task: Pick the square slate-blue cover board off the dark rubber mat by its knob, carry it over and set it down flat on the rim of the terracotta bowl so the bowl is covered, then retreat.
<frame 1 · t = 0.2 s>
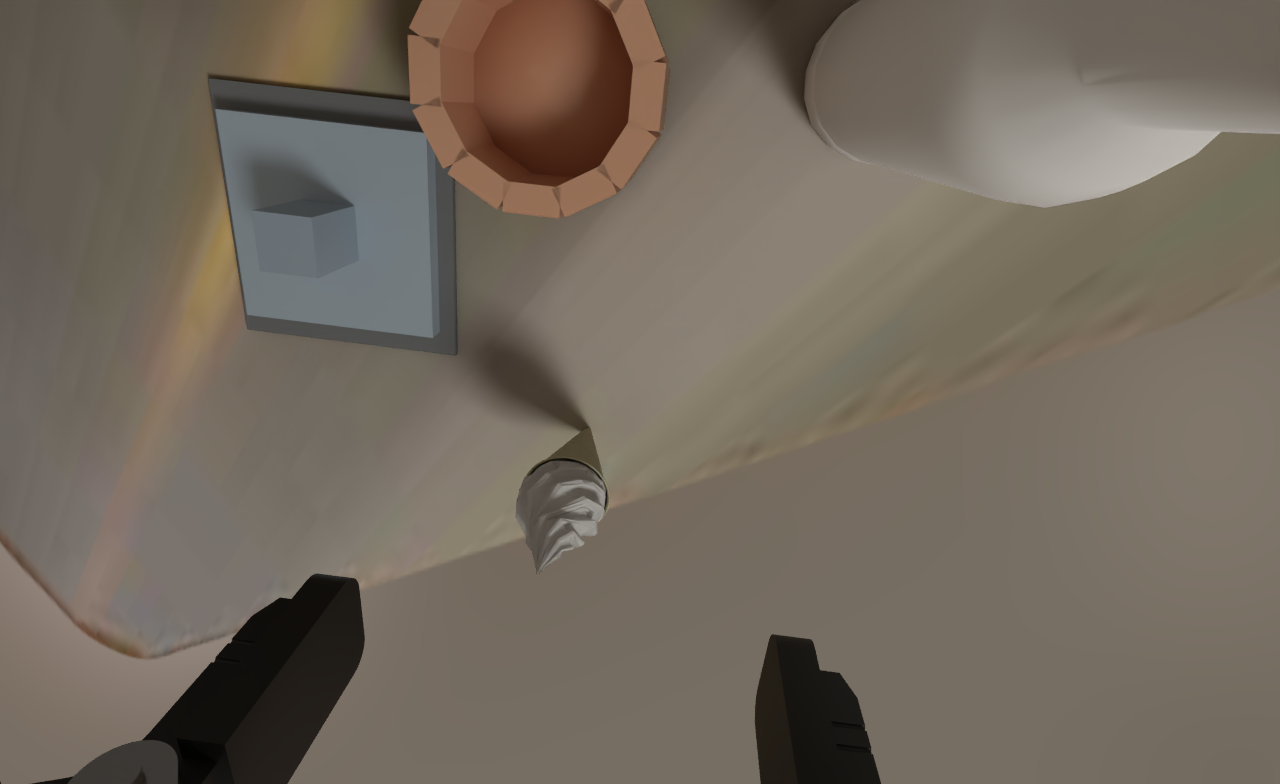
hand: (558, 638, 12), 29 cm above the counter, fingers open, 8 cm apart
bowl: (559, 88, 35), on the counter
bottle: (876, 82, 34), on the counter
ice cream cone: (588, 429, 44), on the counter
mat: (344, 225, 39), on the counter
lid: (340, 227, 39), resting on mat
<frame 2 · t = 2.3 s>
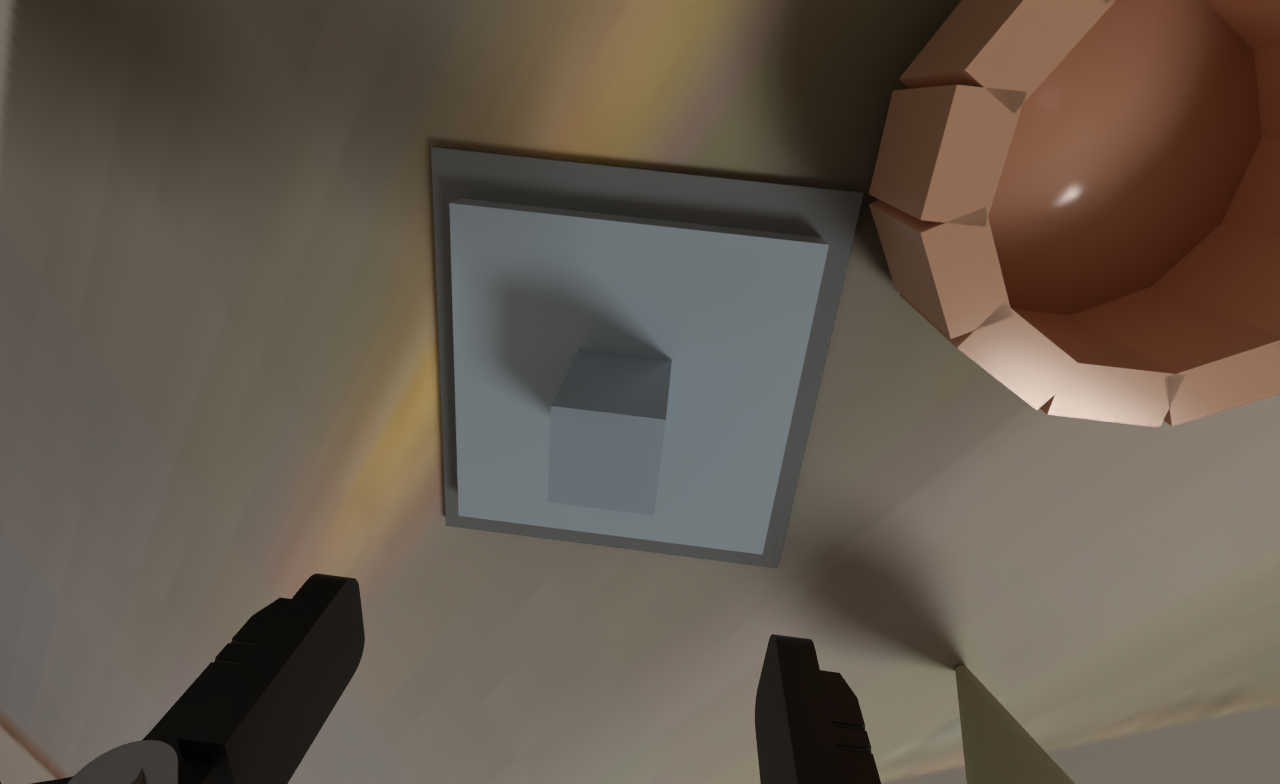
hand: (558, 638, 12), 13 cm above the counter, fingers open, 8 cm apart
bowl: (1067, 162, 20), on the counter
ice cream cone: (959, 665, 28), on the counter
mat: (626, 378, 24), on the counter
lid: (625, 383, 24), resting on mat
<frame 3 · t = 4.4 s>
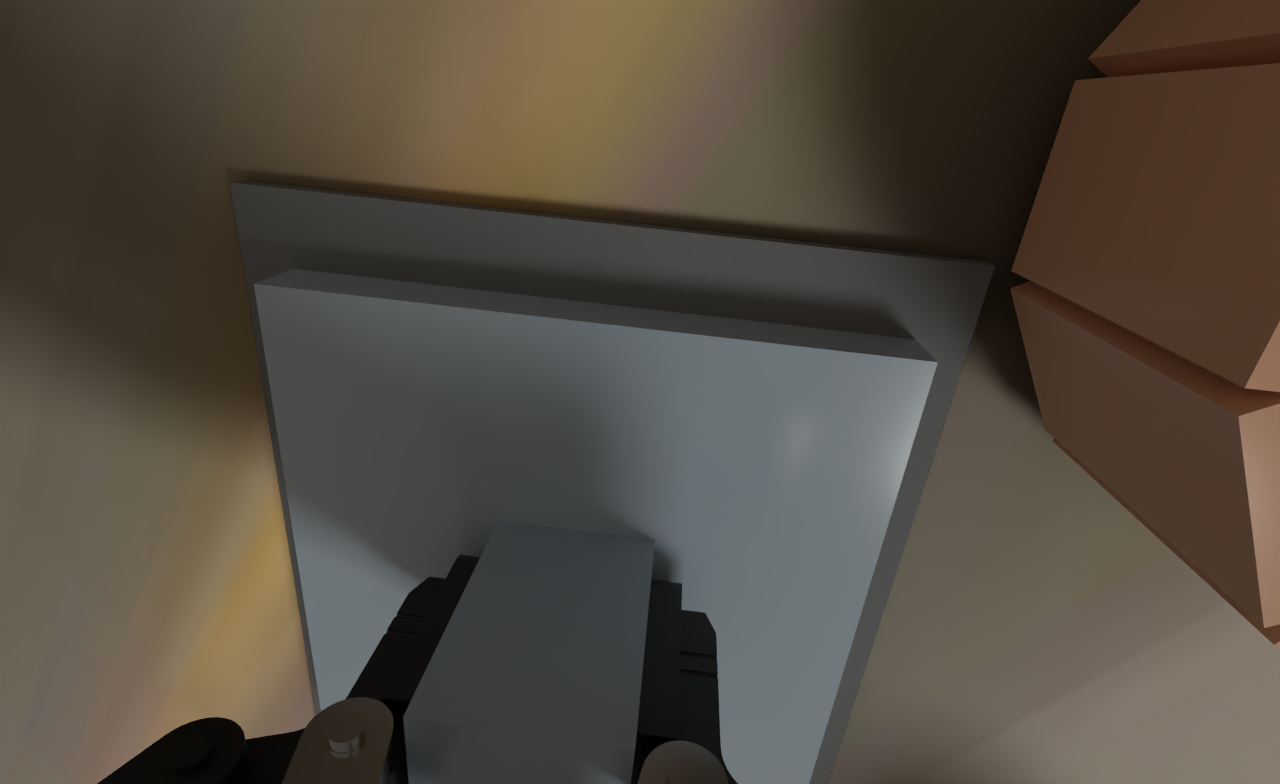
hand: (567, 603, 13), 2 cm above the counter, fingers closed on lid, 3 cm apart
mat: (584, 545, 15), on the counter
lid: (581, 556, 15), resting on mat, touching gripper
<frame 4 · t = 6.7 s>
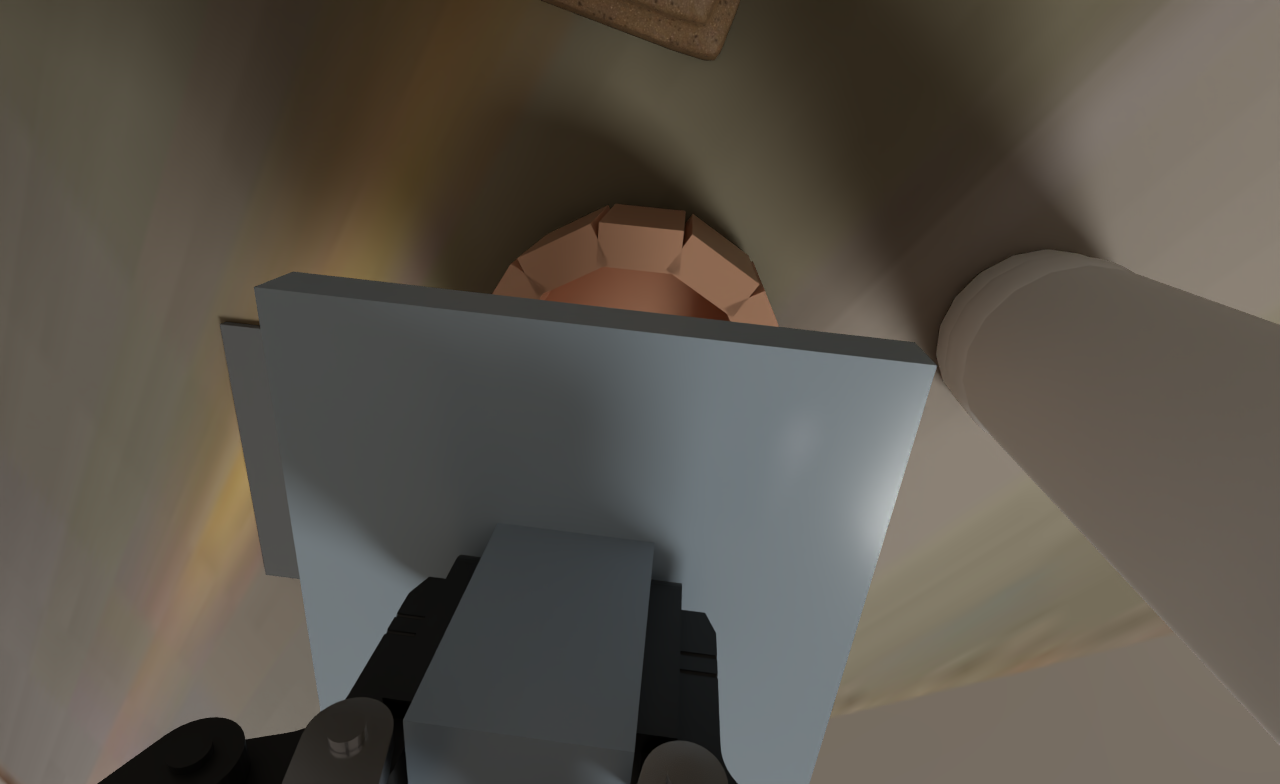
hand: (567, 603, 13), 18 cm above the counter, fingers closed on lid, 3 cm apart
bowl: (639, 337, 29), on the counter
bottle: (1024, 335, 28), on the counter
mat: (379, 472, 34), on the counter
lid: (581, 558, 15), point 16 cm above the counter, touching gripper
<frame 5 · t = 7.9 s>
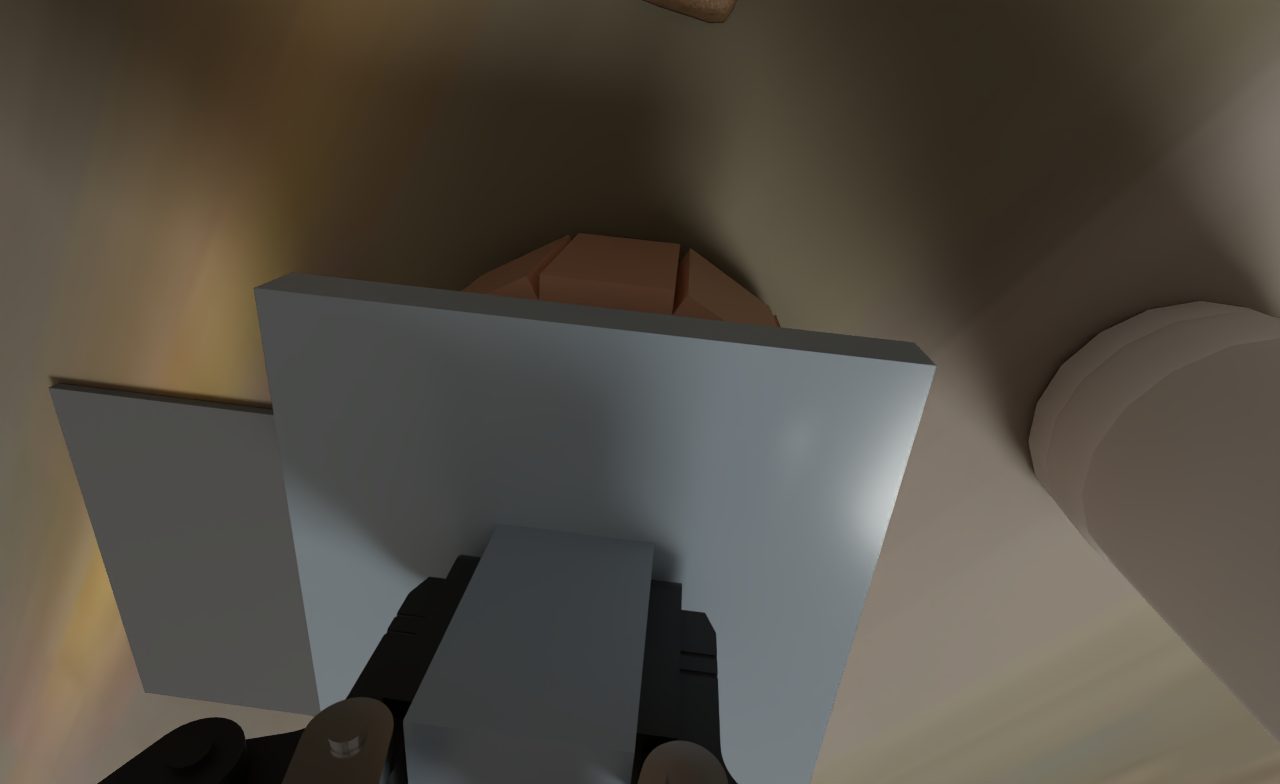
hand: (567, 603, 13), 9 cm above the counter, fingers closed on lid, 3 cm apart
bowl: (616, 412, 21), on the counter
bottle: (1153, 416, 20), on the counter
mat: (278, 574, 26), on the counter
lid: (581, 558, 15), point 8 cm above the counter, touching gripper
when the fingers open (8 cm above the counter, at t = 9.0 s): lid stays where it is, resting on bowl.
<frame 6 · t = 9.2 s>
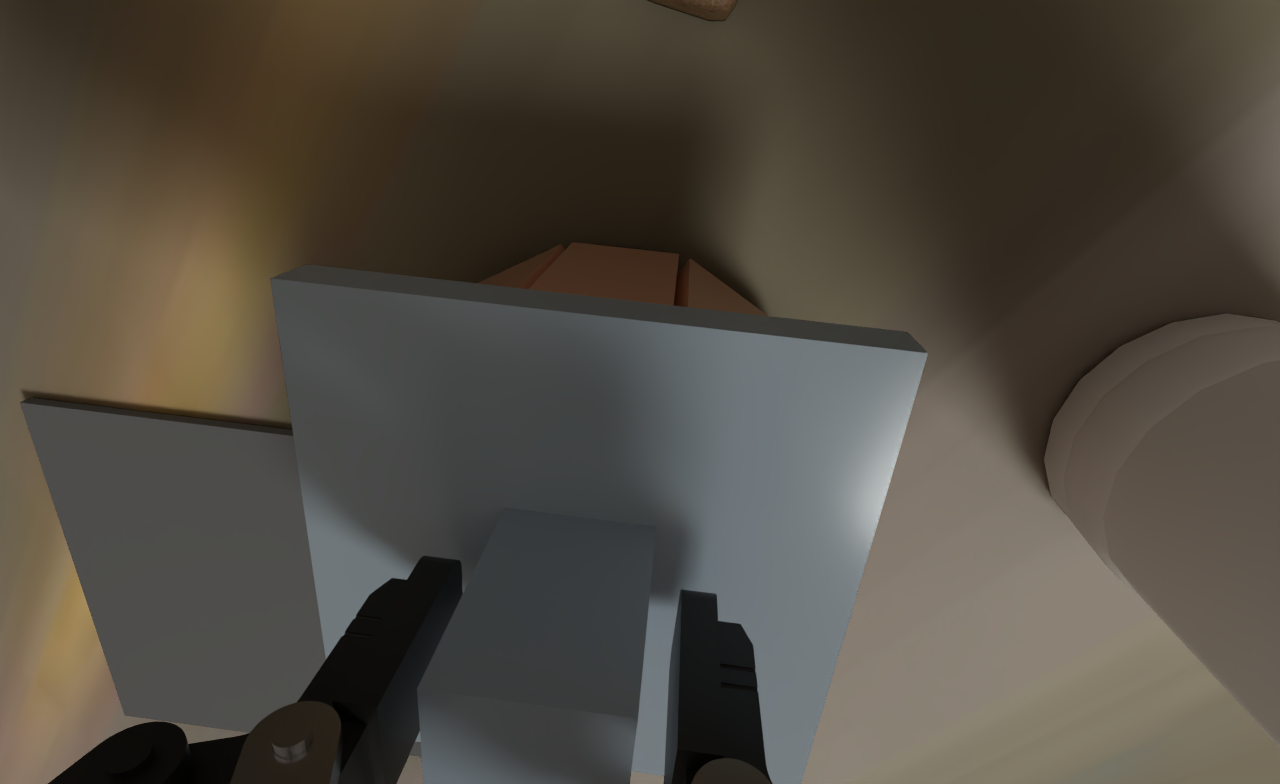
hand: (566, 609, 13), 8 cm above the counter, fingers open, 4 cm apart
bowl: (613, 428, 21), on the counter
bottle: (1174, 433, 19), on the counter
mat: (262, 594, 25), on the counter
lid: (584, 543, 15), point 6 cm above the counter, touching bowl
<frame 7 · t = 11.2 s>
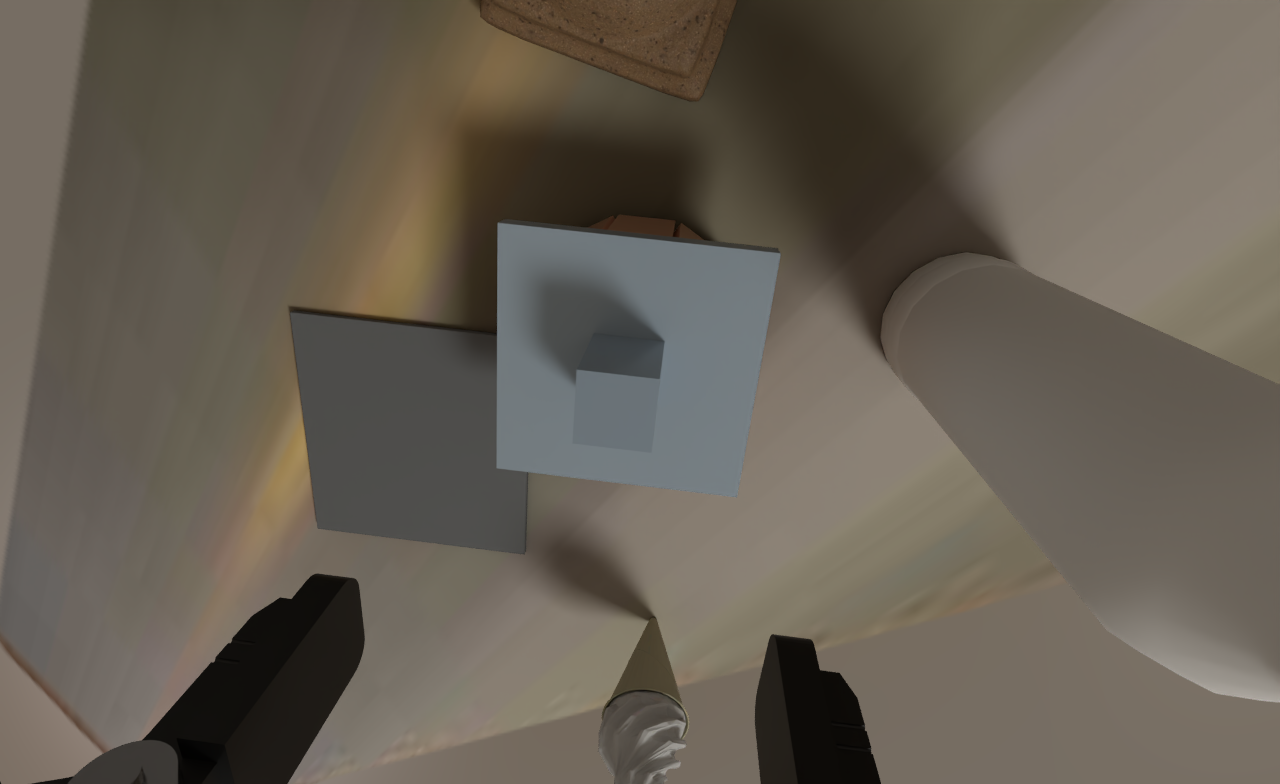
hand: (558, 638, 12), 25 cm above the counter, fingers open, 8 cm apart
bowl: (637, 324, 36), on the counter
bottle: (952, 322, 35), on the counter
ice cream cone: (653, 617, 44), on the counter
mat: (417, 438, 40), on the counter
lid: (628, 361, 30), point 6 cm above the counter, touching bowl
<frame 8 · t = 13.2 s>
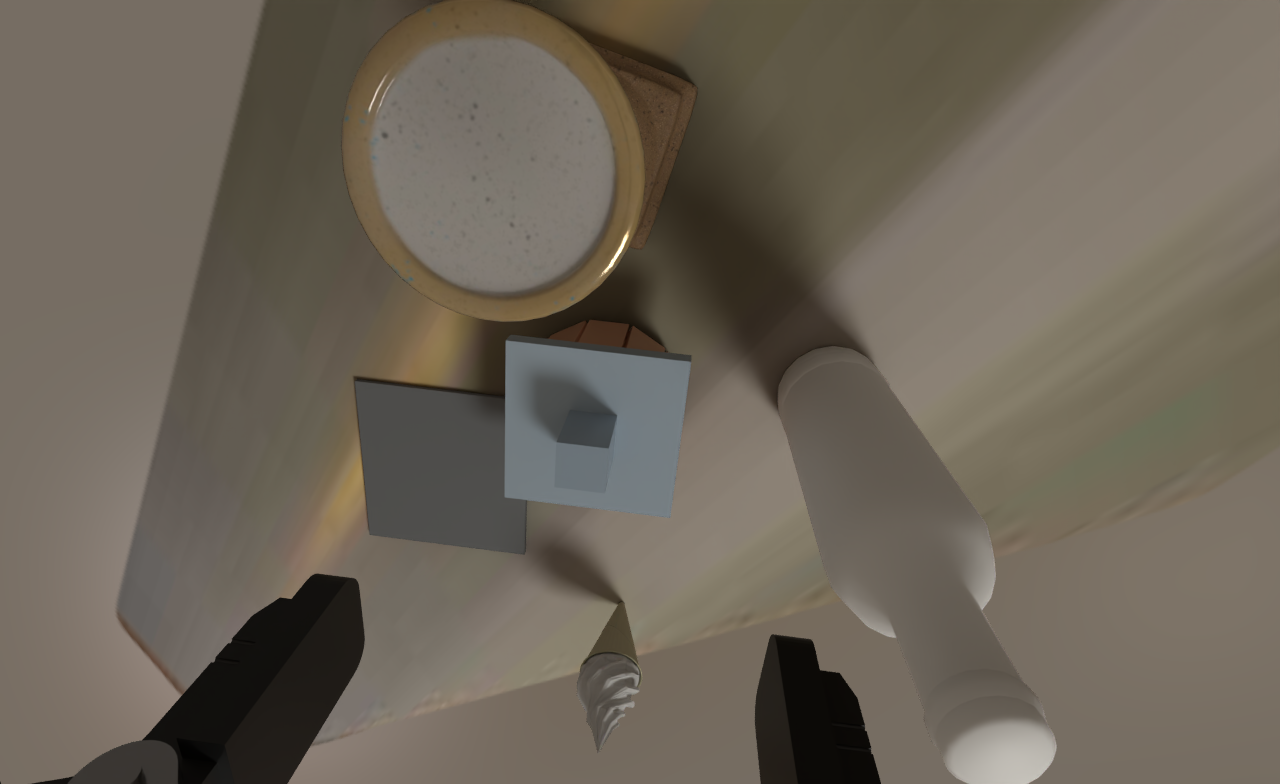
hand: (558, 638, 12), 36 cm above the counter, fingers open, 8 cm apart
candle holder: (595, 142, 43), on the counter
bowl: (605, 391, 50), on the counter
bottle: (828, 392, 49), on the counter
ice cream cone: (621, 602, 58), on the counter
mat: (445, 469, 54), on the counter
lid: (594, 425, 44), point 6 cm above the counter, touching bowl
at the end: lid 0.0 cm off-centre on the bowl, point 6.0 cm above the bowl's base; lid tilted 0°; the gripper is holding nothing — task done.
